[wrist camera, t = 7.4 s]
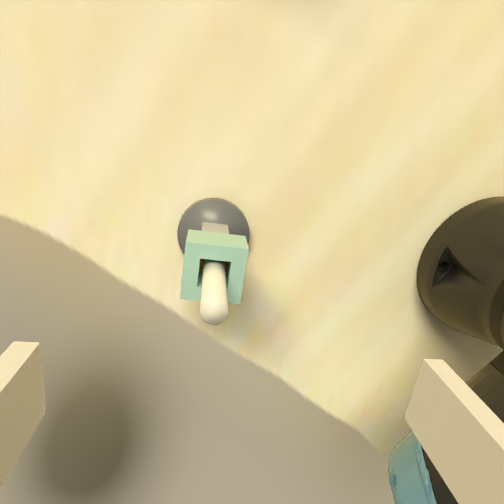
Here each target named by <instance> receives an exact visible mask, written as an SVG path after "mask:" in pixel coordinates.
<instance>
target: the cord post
mask: <svg viewBox="0 0 504 504" xmlns="http://www.w3.org/2000/svg"><path fill="white" fill-rule="evenodd" d="M188 229H191V230H199V231H207V232H216V233H224V234H233V235H241V236H246V240H247V244H248V241H249V228H248V224H247V221H246V218H245V216H244V215H243V213H242V212H241V210H240V209H239V208H238V207H237V206H235V205H234V204H232V203H231V202H229V201H227V200H224V199H219V198H207V199H203V200H200V201H198V202H196V203H194V204H192V205H191V206H190V207H189V208H188V209H187V210H186V211H185V212H184V214H183V215H182V218H181V220H180V223H179V226H178V242H179V245H180V248H181V250H182V251H183V253H184V254H185V243H186V238H187V234H188ZM227 262H228V261H218V260H209V259H200V264H199V270H200V271H203V276H202V291H201V306H200V316H201V318H202V320H203V321H204V322H206V323H208V324H211V325H217V324H220V323H222V322H223V321H225V319H226V318H227V316H228V304H227V291H226V278H225V272H226V269H227Z"/></svg>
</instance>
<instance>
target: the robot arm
mask: <svg viewBox="0 0 504 504" xmlns="http://www.w3.org/2000/svg"><path fill="white" fill-rule="evenodd" d="M417 283H418V290H419V293H420V296H421V299H422V301H423V303H424V304H425V306H426V307H427V308H428V309H429V311H431V312H432V313H433V314H434V315H435V316H436V317H437V318H438V319H439V320H441V321H442V322H443V323H444V324H446V325H447V326H449V327H451V328H453V329H455V330H457V331H459V332H462V333H465V334H468V335H470V336H473V337H476V338H479V339H481V340H484V341H487V342H489V343H492V344H495V345H498V346H500V347H501V348H502V349H503V350H504V197H492V198H487V199H483V200H479V201H476V202H474V203H471V204H469V205H467V206H465V207H464V208H462V209H460V210H459V211H457V212H456V213H454V214H453V215H451V216H450V217H449V218H448V219H447V220H446V221H444V222H443V223H442V224H441V225H440V227H439V228H438V229H437V230H436V231H435V232H434V234H433V235H432V237H431V238H430V240H429V241H428V243H427V245H426V247H425V249H424V251H423V253H422V256H421V259H420V262H419V266H418V273H417ZM45 413H46V401H45V391H44V381H43V370H42V360H41V350H40V343H34V342H13V343H12V344H11V345H10V346H9V348H8V349H7V350H6V351H5V352H4V353H3V354H2V355H1V356H0V490H1V488H2V486H3V485H4V483H5V481H6V480H7V478H8V476H9V474H10V473H11V471H12V469H13V467H14V466H15V464H16V462H17V461H18V459H19V457H20V456H21V454H22V452H23V450H24V449H25V447H26V445H27V444H28V442H29V440H30V438H31V437H32V435H33V433H34V432H35V430H36V428H37V426H38V425H39V423H40V421H41V420H42V418H43V416H44V414H45ZM404 419H405V420H406V422H407V423H408V425H409V427H410V428H411V430H412V431H411V432H410V433H409V434H408V435H407V436H406V437H405V438H404V439H403V440H402V441H401V442H400V443H399V444H398V445H396V447H395V448H394V449H393V451H392V453H391V455H390V459H389V468H388V472H389V481H390V485H391V489H392V492H393V498H394V501H395V504H504V351H503V352H501V353H500V354H499V355H498V356H497V357H496V358H495V359H493V360H492V361H491V362H490V363H489V364H487V365H486V366H485V367H484V368H483V369H482V370H480V371H479V372H478V373H477V374H476V375H475V376H473V377H472V378H471V379H470V380H469V381H468V382H467V383H465V382H464V381H463V380H462V379H461V378H460V377H459V376H458V375H457V374H456V373H455V372H454V371H453V370H452V369H451V368H450V367H449V366H448V364H447V363H446V362H445V361H444V360H440V359H423V362H422V365H421V368H420V371H419V374H418V377H417V380H416V383H415V386H414V389H413V392H412V395H411V398H410V401H409V404H408V407H407V410H406V413H405V416H404Z"/></svg>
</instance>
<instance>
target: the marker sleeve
mask: <svg viewBox="0 0 504 504" xmlns="http://www.w3.org/2000/svg"><path fill="white" fill-rule="evenodd" d="M248 252H249V247H248V244H247V240H246V236H241V235H233V234H224V233H216V232H207V231H199V230H191V229H188V234H187V238H186V243H185V254H184V264H183V274H182V284H181V294H180V299H185V300H196V301H201V291H202V276H203V271H200V270H199V264H200V259H209V260H218V261H228V262H227V269H226V273H225V278H226V291H227V303H230V304H240V301H241V295H242V289H243V283H244V277H245V271H246V265H247V258H248Z"/></svg>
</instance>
